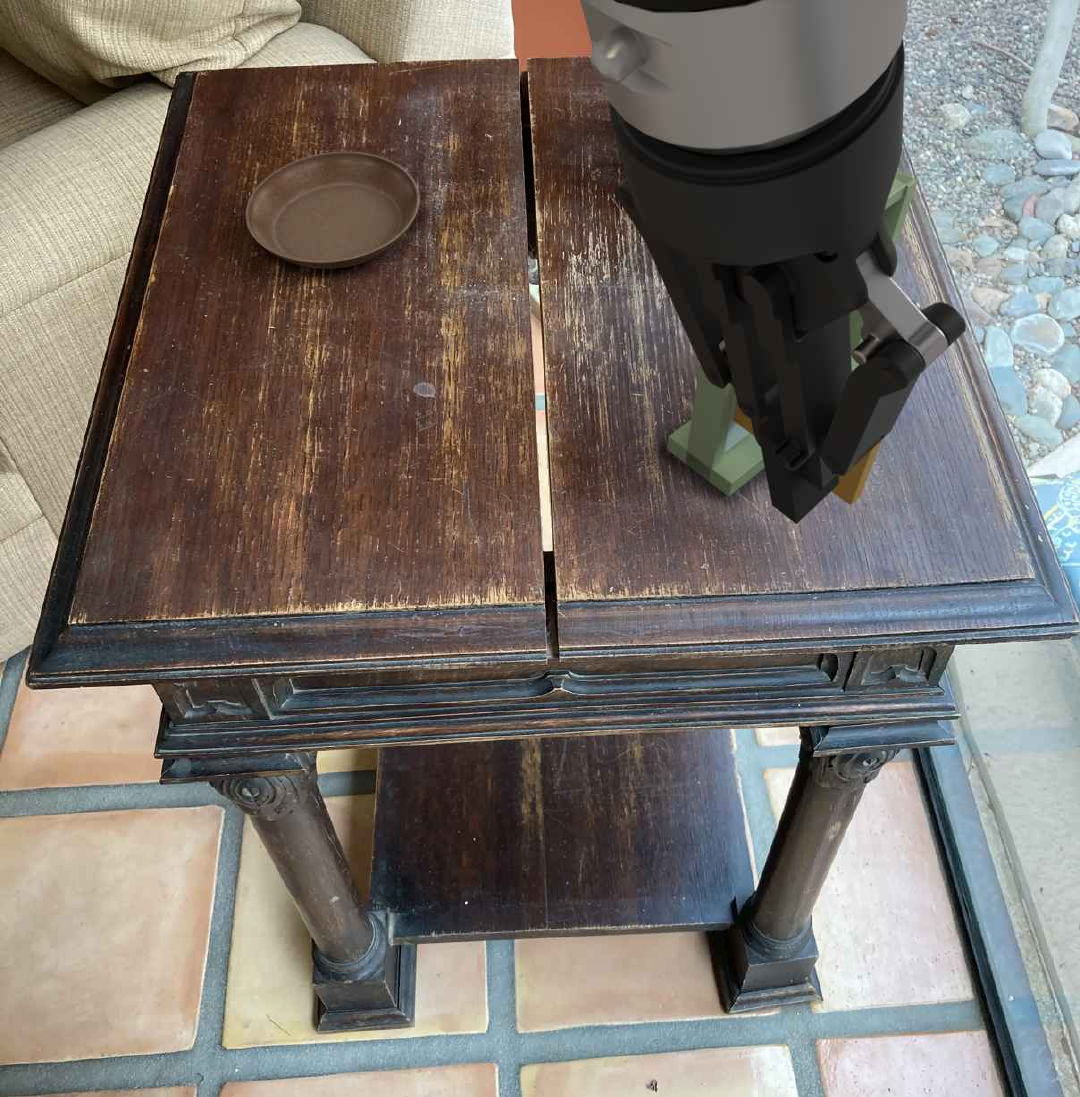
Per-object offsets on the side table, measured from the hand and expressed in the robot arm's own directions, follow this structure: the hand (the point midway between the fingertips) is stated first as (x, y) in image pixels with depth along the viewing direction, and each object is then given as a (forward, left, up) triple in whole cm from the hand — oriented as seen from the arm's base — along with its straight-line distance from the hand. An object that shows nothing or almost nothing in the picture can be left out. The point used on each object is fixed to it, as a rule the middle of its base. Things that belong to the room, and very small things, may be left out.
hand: (805, 494), depth 47 cm
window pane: (+9, -16, -19) cm, 27 cm away
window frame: (+14, -20, -21) cm, 33 cm away
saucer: (+54, -9, -21) cm, 59 cm away
